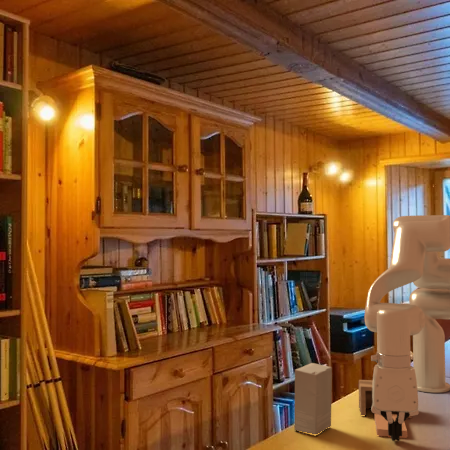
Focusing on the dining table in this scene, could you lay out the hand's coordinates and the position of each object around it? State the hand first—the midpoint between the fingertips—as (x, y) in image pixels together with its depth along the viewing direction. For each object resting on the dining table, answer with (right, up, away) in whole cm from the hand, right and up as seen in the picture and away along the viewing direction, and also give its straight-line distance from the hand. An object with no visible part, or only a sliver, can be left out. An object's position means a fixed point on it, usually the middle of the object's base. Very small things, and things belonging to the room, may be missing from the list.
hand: (395, 438), depth 129 cm
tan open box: (+4, -1, +21) cm, 22 cm away
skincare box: (-18, -1, +8) cm, 20 cm away
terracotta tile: (+2, -1, +9) cm, 9 cm away
